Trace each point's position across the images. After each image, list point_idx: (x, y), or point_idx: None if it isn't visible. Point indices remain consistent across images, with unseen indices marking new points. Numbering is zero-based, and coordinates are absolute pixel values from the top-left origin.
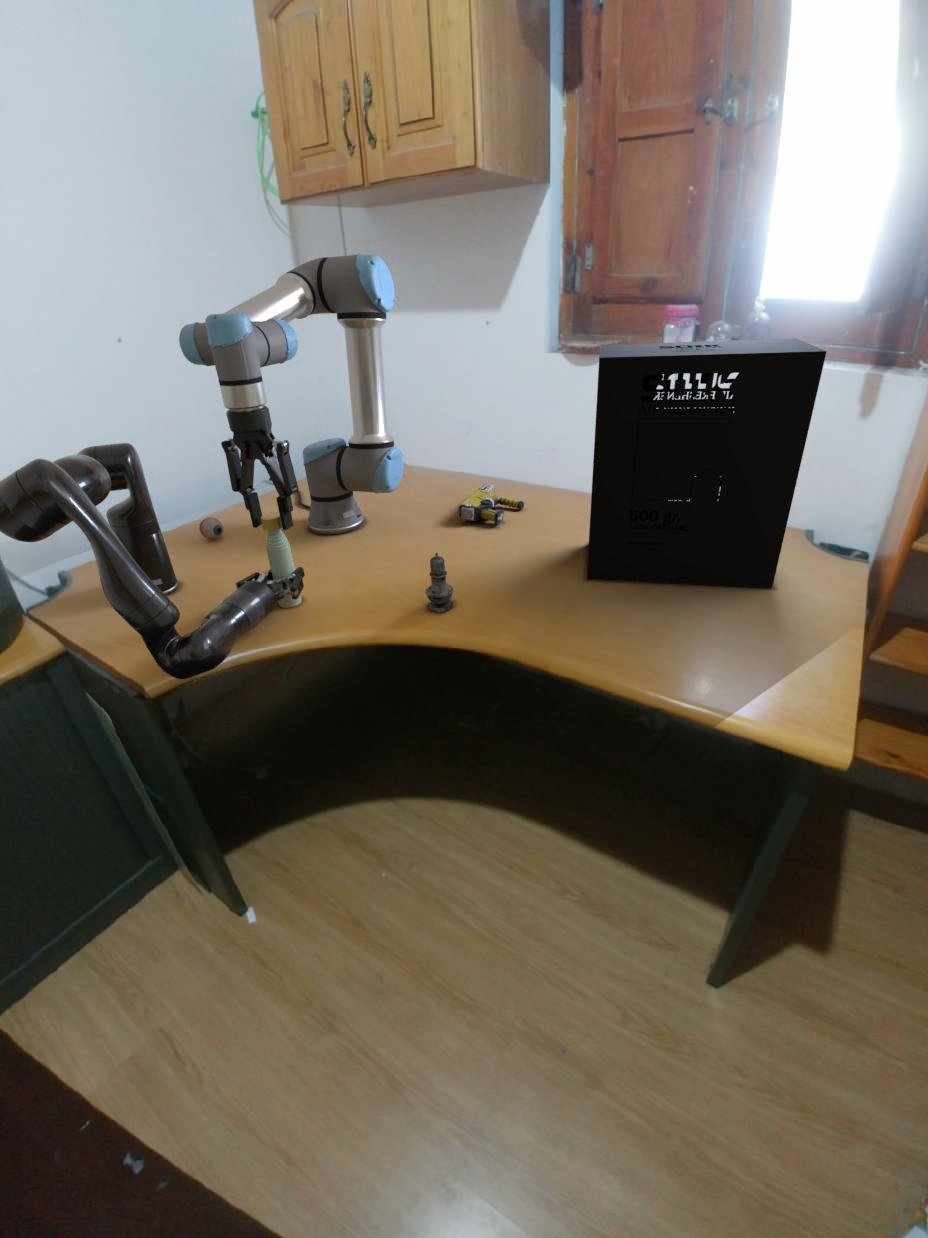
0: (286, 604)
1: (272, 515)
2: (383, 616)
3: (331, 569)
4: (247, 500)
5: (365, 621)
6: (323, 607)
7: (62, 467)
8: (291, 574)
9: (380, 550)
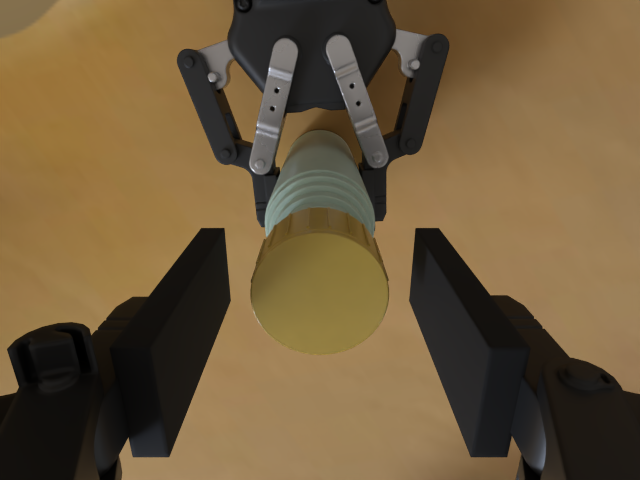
0: (309, 132)
1: (314, 305)
2: (4, 151)
3: (313, 359)
4: (502, 323)
5: (33, 111)
6: (204, 159)
7: None
8: (262, 161)
9: (243, 467)
